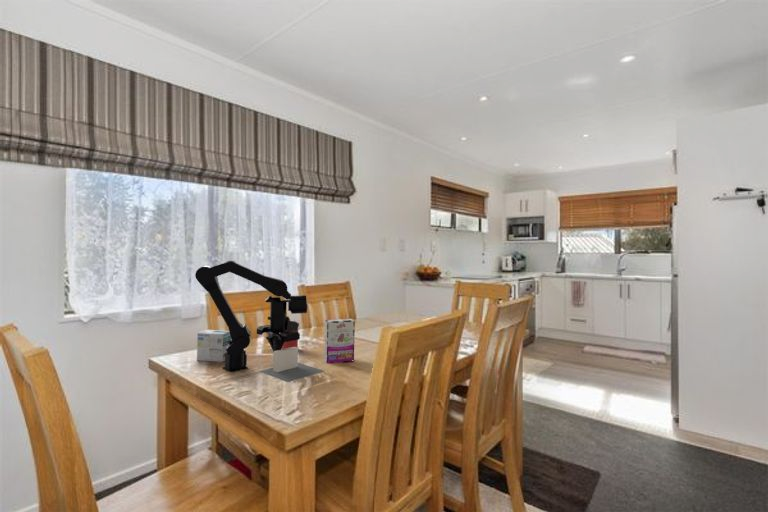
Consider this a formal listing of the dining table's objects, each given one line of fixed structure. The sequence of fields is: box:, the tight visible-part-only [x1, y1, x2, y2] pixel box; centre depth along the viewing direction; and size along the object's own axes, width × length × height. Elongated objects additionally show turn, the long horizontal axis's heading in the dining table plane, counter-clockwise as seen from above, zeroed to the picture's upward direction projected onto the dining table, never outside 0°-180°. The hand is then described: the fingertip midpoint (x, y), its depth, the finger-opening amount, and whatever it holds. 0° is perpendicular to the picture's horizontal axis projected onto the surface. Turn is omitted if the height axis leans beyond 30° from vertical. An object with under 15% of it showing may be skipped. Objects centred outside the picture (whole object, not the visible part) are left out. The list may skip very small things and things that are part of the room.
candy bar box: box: [323, 318, 356, 364], centre depth 150 cm, size 11×5×16 cm, turn 112°
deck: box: [272, 347, 299, 372], centre depth 137 cm, size 9×2×7 cm, turn 141°
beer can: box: [281, 320, 299, 350], centre depth 164 cm, size 7×7×12 cm
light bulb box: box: [196, 329, 232, 363], centre depth 147 cm, size 11×7×11 cm, turn 84°
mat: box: [259, 362, 325, 383], centre depth 135 cm, size 16×16×1 cm
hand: (277, 356), depth 141 cm, fingers closed
